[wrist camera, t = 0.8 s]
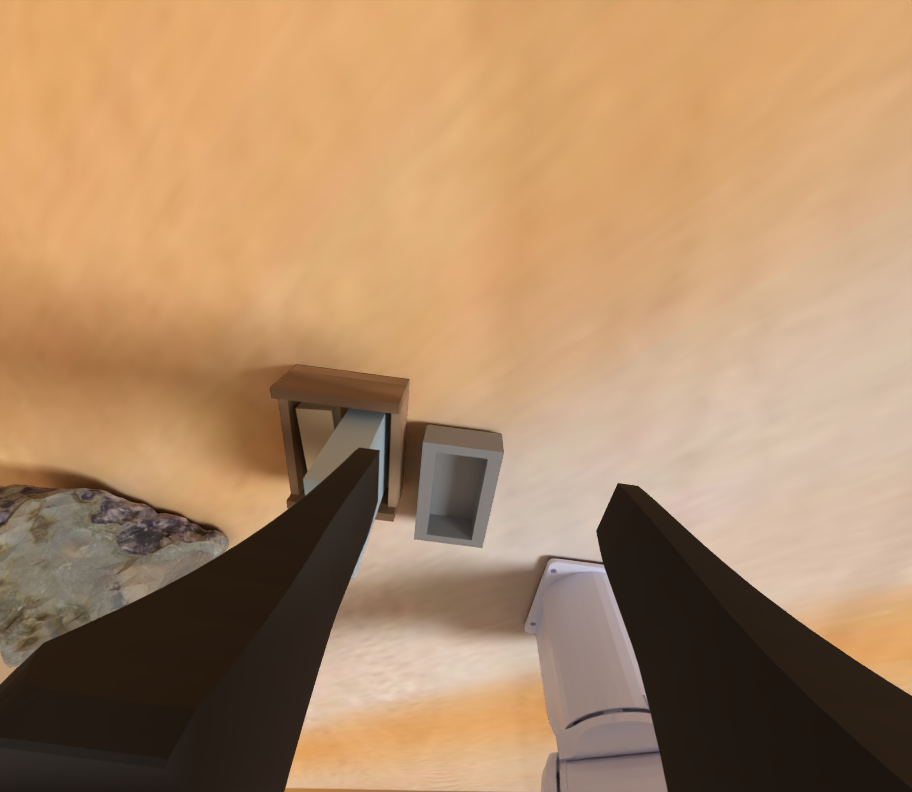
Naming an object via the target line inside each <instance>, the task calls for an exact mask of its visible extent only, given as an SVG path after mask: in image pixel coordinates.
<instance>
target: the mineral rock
mask: <svg viewBox="0 0 912 792" xmlns="http://www.w3.org/2000/svg"><path fill="white" fill-rule="evenodd" d="M228 545H229V541H228V538H227V536H226V535H224V534H223V533H222V532H220V531H218V530H208V531H207V530H205V529H203V528H201V527H200V526H198V525H197V524H192V523H190V522H189V521H188V520H187V519H186V518H184V517H181V516H177V515H172V514H168V513H156V511H155V510H154V509H153V508H151V507H150V506H148V505H146V504H140V503H134V502H130V501H128V500H126V499H124V498H121V497H118V496H114V495H113V494H111V493H110V492H108V491H104V490H98V489H88V488H39V487H35V486H28V485H15V484H14V485H10V486H6V487H0V653H1V655H2V658H3V660H4V663H5V664H6V665H7V666H9V668H11V667H14V666H17V665H21V664H22V663H23V662H24V661H25V660H26V659H27V658H28V657H29V656H30V655H31V654H32V653H33V652H34V651H35V650H36V649H37V648H39V647H40V646H41V645H42V644H43V643H44V642H46V641H49V640H51V639H53V638H56V637H58V636H60V635H63V634H65V633H67V632H69V631H71V630H74V629H76V628H78V627H80V626H82V625H85V624H87V623H89V622H91V621H93V620H96V619H98V618H100V617H102V616H104V615H107V614H109V613H111V612H113V611H115V610H118V609H120V608H122V607H124V606H126V605H128V604H130V603H132V602H134V601H136V600H138V599H140V598H142V597H144V596H146V595H148V594H150V593H152V592H154V591H156V590H158V589H160V588H162V587H164V586H166V585H168V584H170V583H172V582H174V581H175V580H177V579H179V578H181V577H183V576H185V575H187V574H189V573H190V572H192V571H194V570H196V569H198V568H199V567H201V566H203V565H204V564H206V563H208V562H209V561H211V560H213V559H215V558H216V557H218V556H220V555H221V554H223V553H224V552H225V550H226V549H227V547H228Z"/></svg>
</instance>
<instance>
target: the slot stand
mask: <svg viewBox="0 0 912 792" xmlns="http://www.w3.org/2000/svg"><path fill="white" fill-rule="evenodd" d="M503 454H504V449H503V440H502V434H501V433H493V432H485V431H478V430H470V429H462V428H455V427H447V426H439V425H432V424H427V427H426V431H425V435H424V440H423V447H422V458H421V469H420V480H419V491H418V502H417V513H416V524H415V535H414V539H417V540H424V541H432V542H440V543H448V544H456V545H463V546H471V547H479V548H482V547H483V542H484V538H485V533H486V529H487V525H488V520H489V516H490V511H491V507H492V502H493V498H494V494H495V489H496V485H497V480H498V476H499V472H500V467H501V463H502V458H503Z"/></svg>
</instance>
